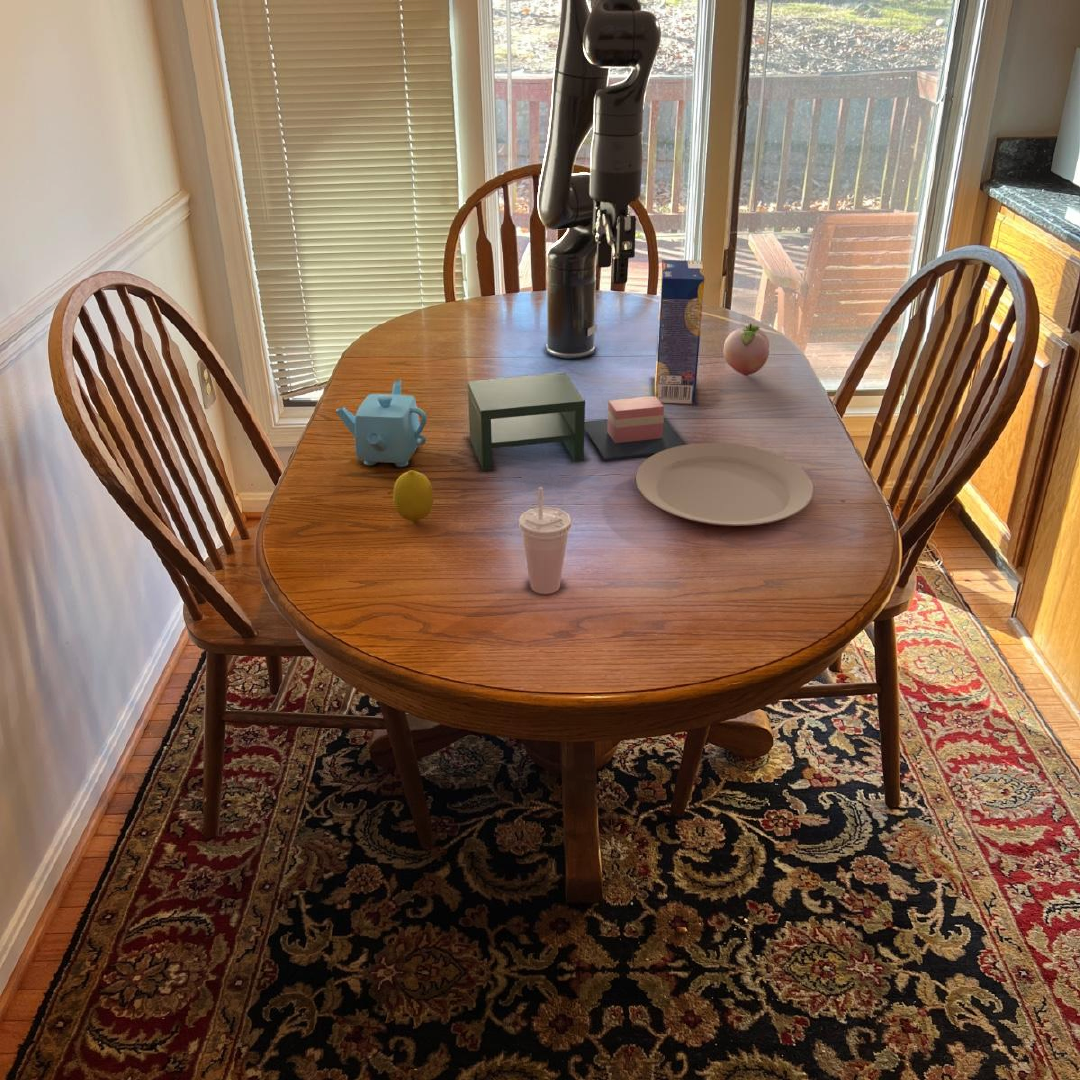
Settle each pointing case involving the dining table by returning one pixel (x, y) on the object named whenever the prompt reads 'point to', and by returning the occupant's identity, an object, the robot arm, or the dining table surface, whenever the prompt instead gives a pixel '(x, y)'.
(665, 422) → the mat
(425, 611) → the dining table surface
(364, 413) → the teapot
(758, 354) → the decorative fruit
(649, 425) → the block
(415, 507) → the lemon
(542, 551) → the smoothie
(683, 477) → the plate
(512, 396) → the shelf stand
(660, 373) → the beverage box
